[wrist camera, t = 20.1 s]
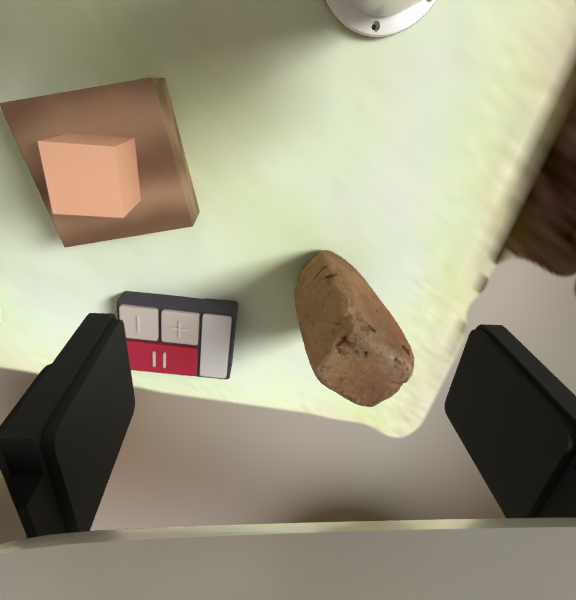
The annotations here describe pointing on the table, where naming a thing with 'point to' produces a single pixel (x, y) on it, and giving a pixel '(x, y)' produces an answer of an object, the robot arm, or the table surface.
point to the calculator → (178, 334)
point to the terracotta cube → (91, 174)
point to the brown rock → (350, 332)
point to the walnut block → (119, 123)
